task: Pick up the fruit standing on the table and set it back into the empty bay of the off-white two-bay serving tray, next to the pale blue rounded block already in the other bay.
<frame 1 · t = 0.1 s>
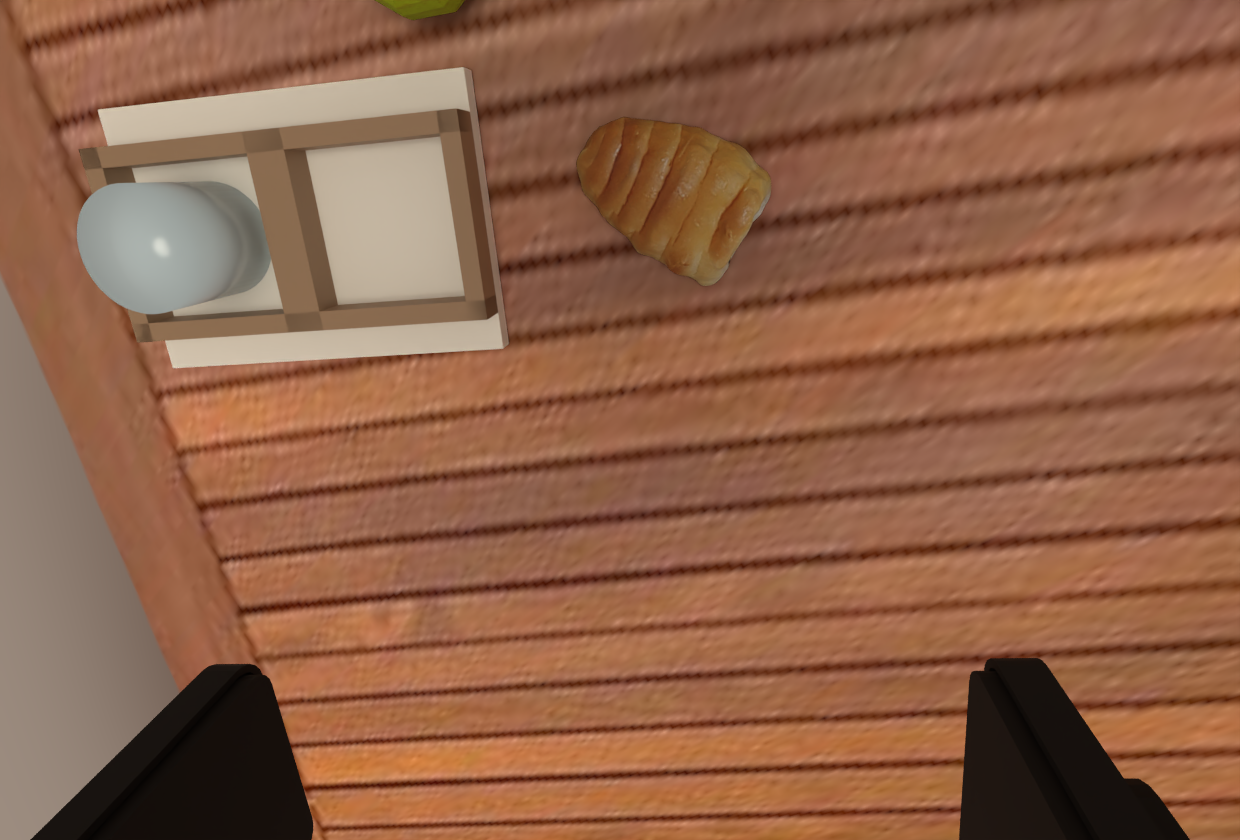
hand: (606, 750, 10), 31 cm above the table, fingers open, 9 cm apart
pastry: (679, 200, 37), on the table
pale blue rounded block: (219, 239, 39), point 1 cm above the table, touching tray
tray: (316, 230, 40), on the table
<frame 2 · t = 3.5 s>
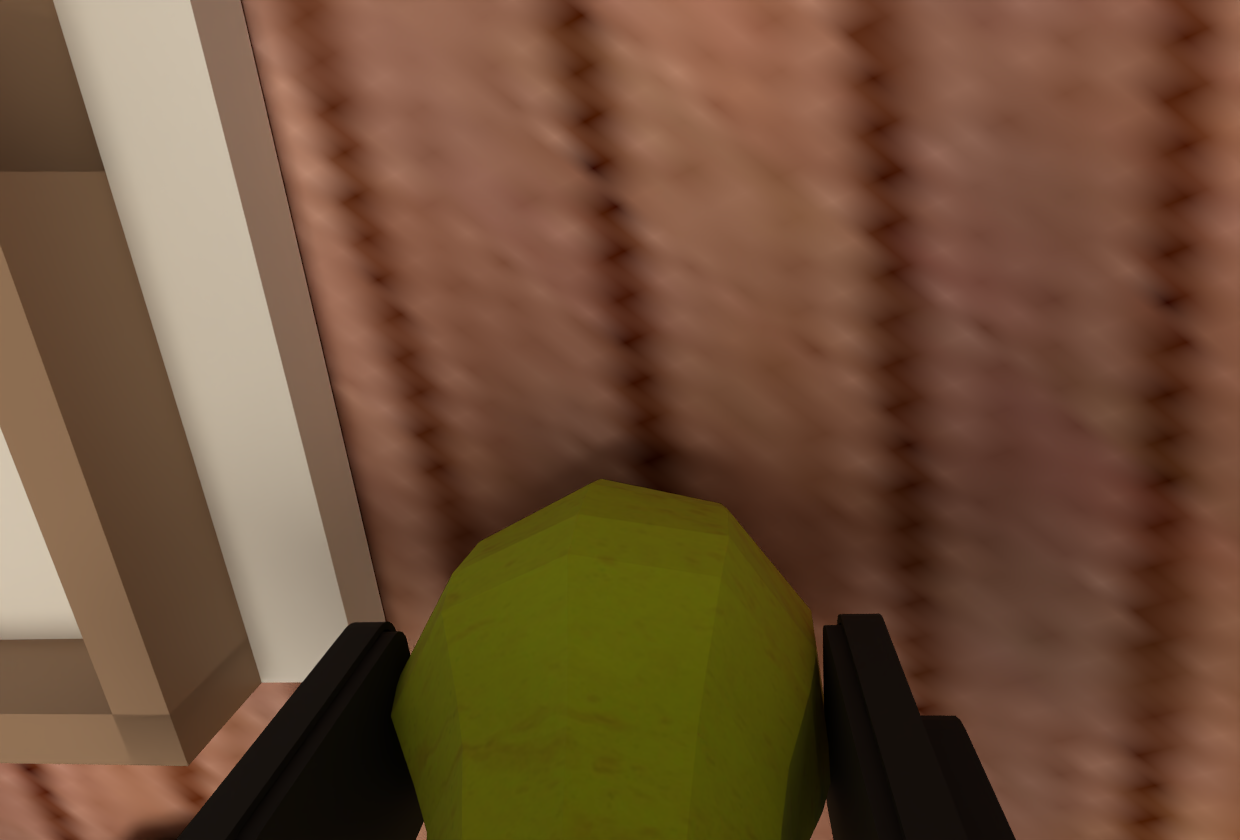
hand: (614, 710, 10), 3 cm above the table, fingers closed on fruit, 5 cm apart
fruit: (639, 585, 13), on the table, touching gripper
when the fingers open (5 cm above the table, at t = 8.3 s): fruit drops 1 cm, resting on tray.
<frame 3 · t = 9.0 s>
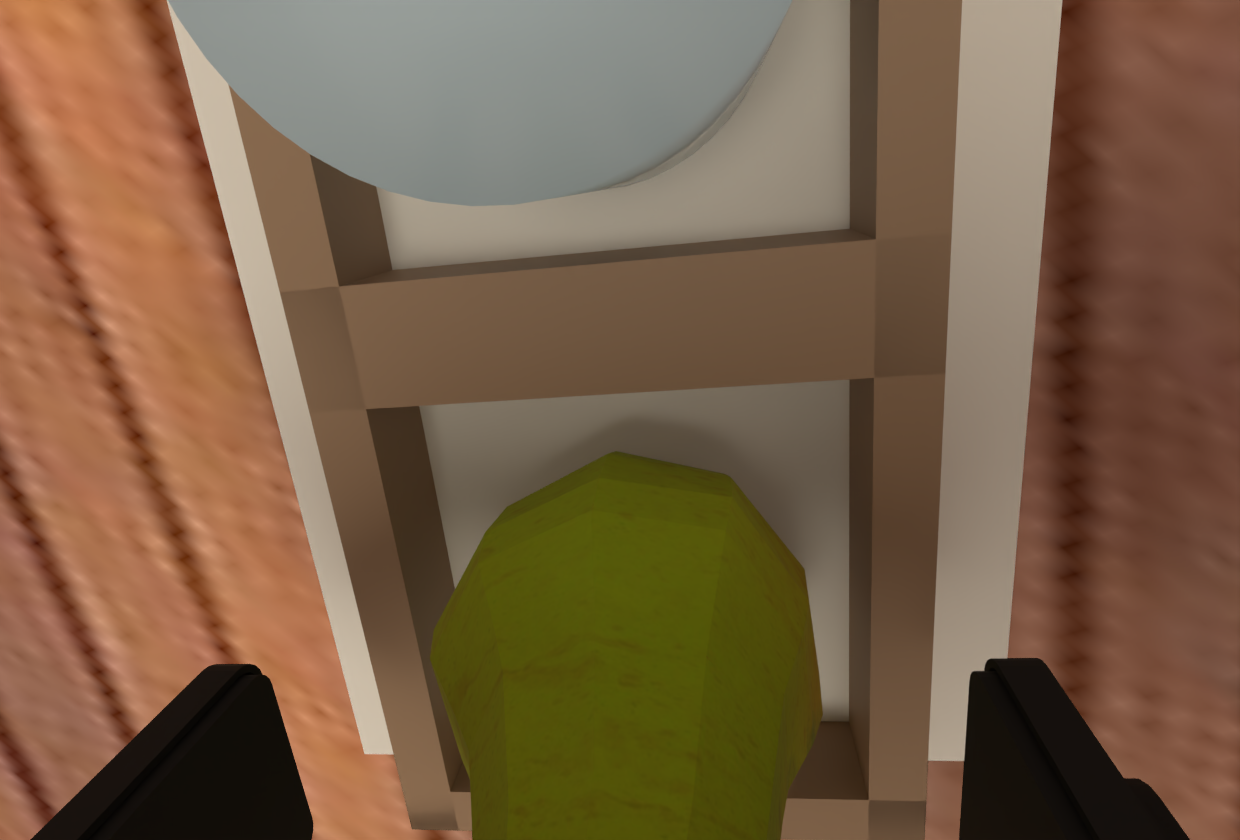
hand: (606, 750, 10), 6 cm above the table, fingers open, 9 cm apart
fruit: (647, 554, 15), point 1 cm above the table, touching tray
tray: (623, 296, 14), on the table
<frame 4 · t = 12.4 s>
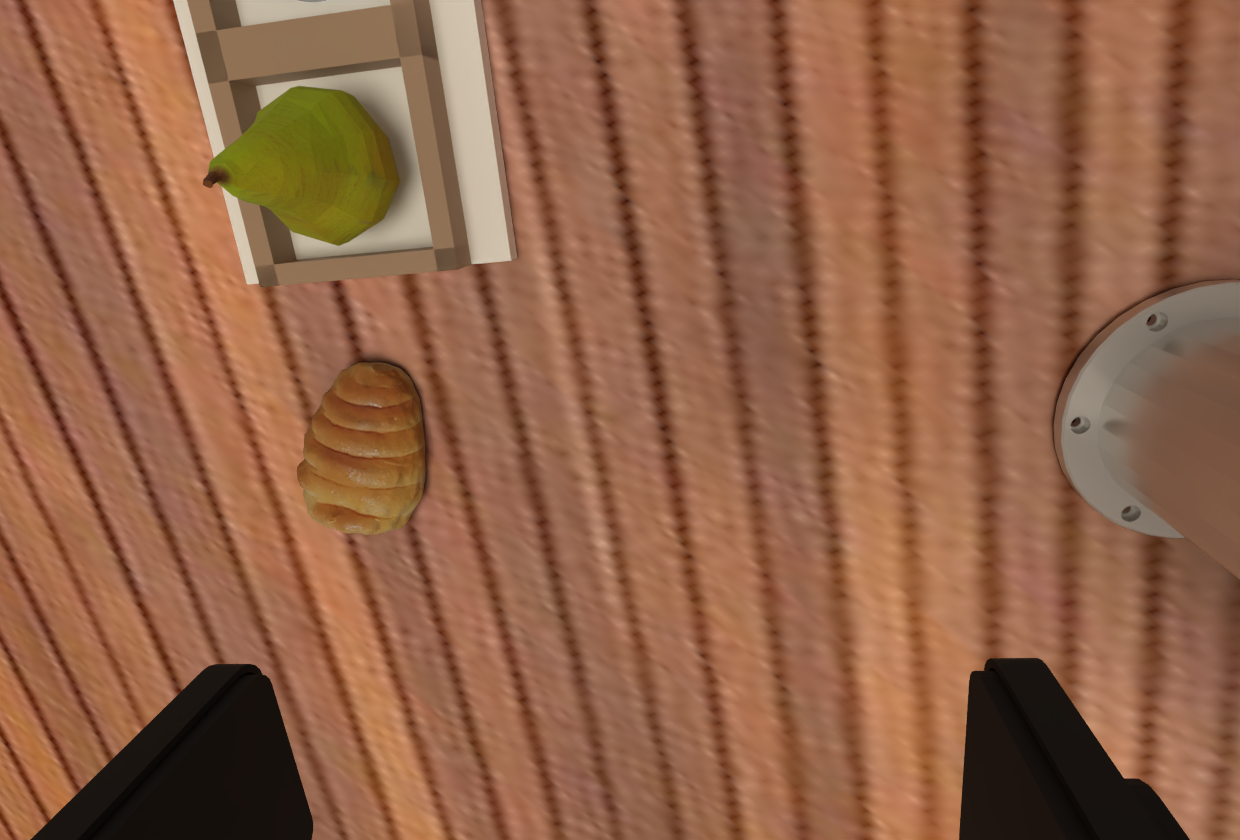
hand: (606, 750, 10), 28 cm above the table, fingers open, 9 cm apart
fruit: (358, 168, 34), point 1 cm above the table, touching tray
pastry: (374, 445, 41), on the table
tray: (343, 55, 34), on the table
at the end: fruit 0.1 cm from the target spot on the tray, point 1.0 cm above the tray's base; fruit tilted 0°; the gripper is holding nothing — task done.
